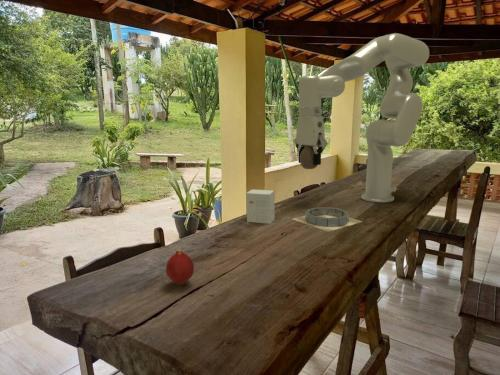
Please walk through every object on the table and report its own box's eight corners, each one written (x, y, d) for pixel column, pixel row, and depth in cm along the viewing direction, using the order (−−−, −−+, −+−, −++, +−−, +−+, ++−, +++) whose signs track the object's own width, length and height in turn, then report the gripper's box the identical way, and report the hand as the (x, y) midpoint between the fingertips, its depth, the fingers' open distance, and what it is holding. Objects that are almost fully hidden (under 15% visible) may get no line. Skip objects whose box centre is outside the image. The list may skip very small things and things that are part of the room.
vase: (318, 169, 124) (319, 144, 122) (299, 169, 126) (299, 144, 124) (319, 166, 131) (319, 142, 129) (300, 166, 132) (300, 142, 130)
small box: (274, 221, 118) (274, 190, 116) (270, 226, 113) (270, 194, 111) (252, 219, 121) (251, 188, 119) (246, 224, 116) (246, 192, 114)
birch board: (325, 212, 127) (325, 210, 127) (362, 223, 114) (362, 221, 114) (291, 221, 118) (291, 218, 118) (327, 234, 105) (327, 231, 105)
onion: (169, 278, 79) (166, 244, 77) (195, 277, 79) (193, 243, 78) (165, 291, 73) (162, 255, 71) (193, 290, 74) (191, 254, 72)
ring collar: (325, 212, 125) (326, 205, 125) (356, 221, 114) (357, 213, 114) (297, 219, 118) (297, 211, 117) (327, 229, 107) (327, 221, 106)
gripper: (336, 112, 119) (335, 165, 123) (300, 112, 133) (300, 160, 137) (320, 113, 115) (319, 167, 119) (285, 113, 129) (285, 162, 133)
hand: (309, 163), depth 128 cm, fingers closed on vase, 6 cm apart
